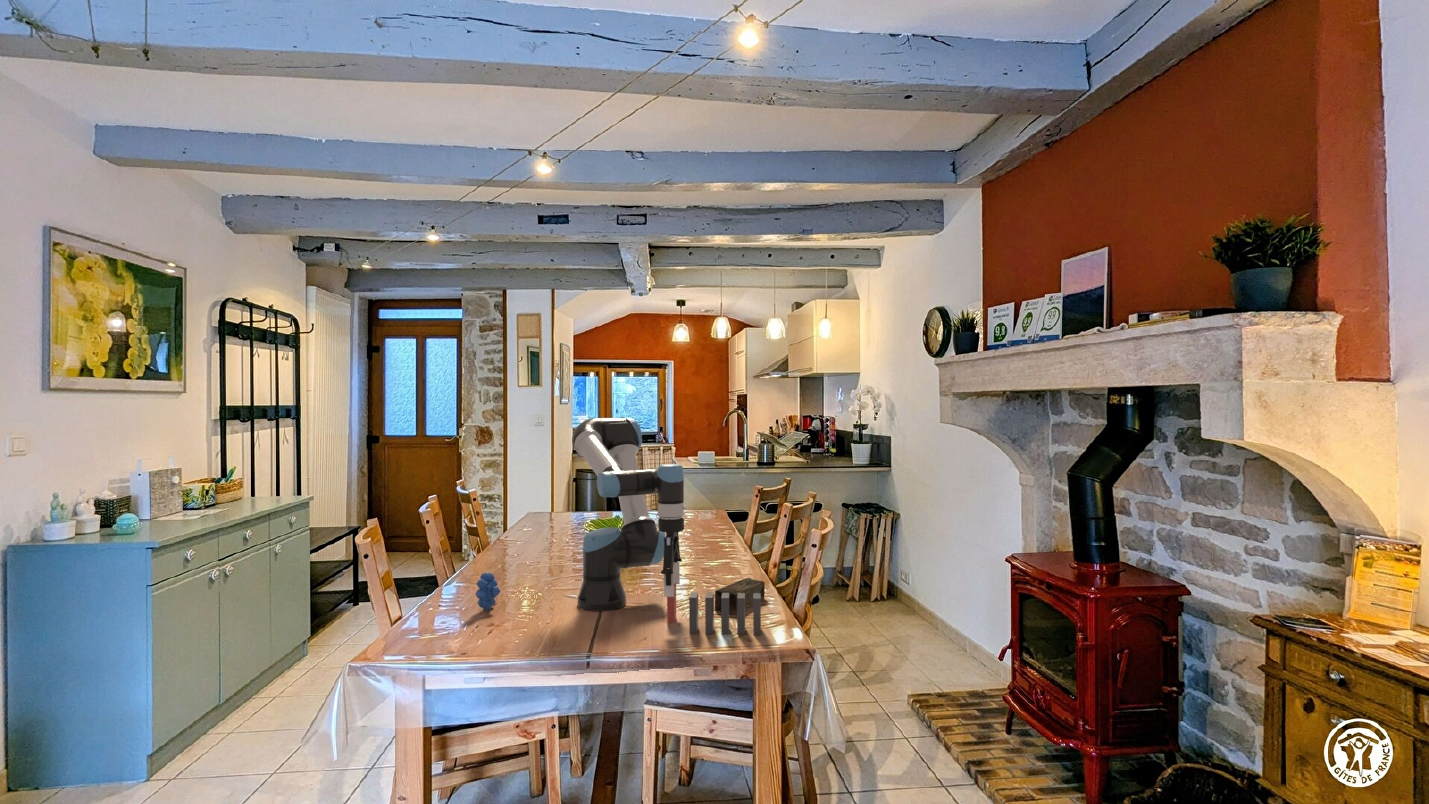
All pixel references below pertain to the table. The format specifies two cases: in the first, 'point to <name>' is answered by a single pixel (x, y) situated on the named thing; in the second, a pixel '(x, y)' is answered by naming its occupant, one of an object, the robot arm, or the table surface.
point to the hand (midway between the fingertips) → (672, 590)
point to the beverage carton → (740, 586)
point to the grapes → (487, 591)
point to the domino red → (671, 607)
